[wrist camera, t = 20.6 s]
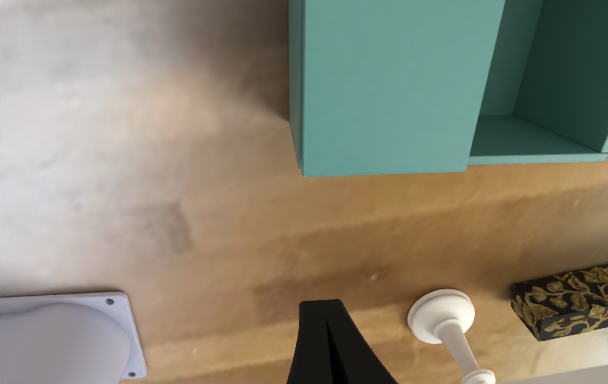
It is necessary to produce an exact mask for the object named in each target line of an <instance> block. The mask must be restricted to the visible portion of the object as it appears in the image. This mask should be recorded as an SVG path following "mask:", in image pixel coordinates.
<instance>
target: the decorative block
mask: <svg viewBox="0 0 608 384" xmlns="http://www.w3.org/2000/svg"><path fill="white" fill-rule="evenodd" d="M511 307H512V309H513V310H514V312H515V313H516V314H517V316H518V317H519V318H520V319H521V321H522V322H523V323H524V324H525V326H526V327H527V328H528V329H529V331H530V332H531V333H532V334H533V336H534V337H535V338H536V339H537V340H538V341H546V340H551V339H555V338H560V337H565V336H570V335H575V334H581V333H585V332H590V331H592V330H597V329H602V328H606V327H608V266H604V267H600V268H599V267H595V268H594V269H591V270H590V271H579V272H575V273H572V272H571V273H568V274H565V275H564V276H563V277H558V276H555V275H554V277H552V278H547V279H542V280H538V281H533V282H524V283H523V284H518V285H514V286H513V287H512V298H511Z"/></svg>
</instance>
